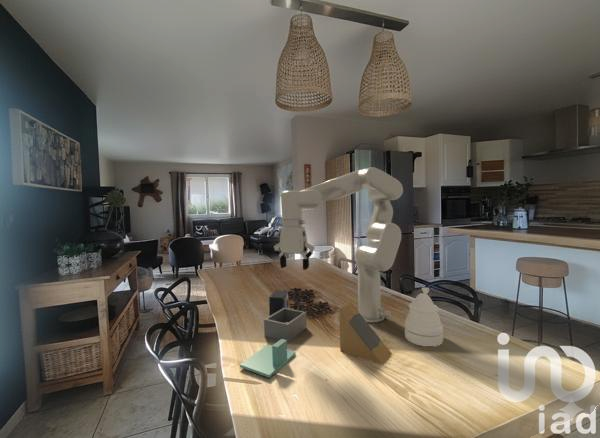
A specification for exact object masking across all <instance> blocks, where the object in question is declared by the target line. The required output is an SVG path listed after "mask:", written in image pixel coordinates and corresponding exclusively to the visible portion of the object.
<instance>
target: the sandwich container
mask: <svg viewBox="0 0 600 438" xmlns="http://www.w3.org/2000/svg"><path fill="white" fill-rule="evenodd" d="M338 313H339V346H340V347H339V349H340V350H339V351H340V352H343V353H345V354H348V355H350V356H351V355H352V356H354V357H357V358H360V359H363V360H366V361H369V362H372V363H376V364H379V365H384V366H385V364H386V362H388V360H389V359H390V358H391V356H392V354H393V353H392V352H391V350H390V349H389V348H388V347H387V345H386V344H385V343H384V342H383V340H382V339H381V338H380V337H379V336H378V334H377V333H376V332H375V331H374V329H373V328H372V327H371V326H370V324H369V322H366V321H365V319H364V318H363V317H362V315H361V314H360V313H359V312H358V308H356V307H355V305H354V304H353V302H352V301H349V302H347V303H346V304H344V305H342V306H341V307H339V312H338Z"/></svg>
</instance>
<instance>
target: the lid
mask: <svg viewBox="0 0 600 438" xmlns="http://www.w3.org/2000/svg"><path fill="white" fill-rule="evenodd" d="M295 356H296V351H293V350H288V342H287V340H284V339H281V340H278V341H277V342H275V343H274V344H272V345H271V344H266V345H265V346H264V347H262V348H260V349H259V350H258V351H256V352H255V353H254V354H252V355H251V356H250V357H249V358H247V359H245V360H244V361H242V363H239V367H240V368H241V369H243V370H244V369H245V370H248V371H250V372H253V373H255V374H258V375H260V376H263V377H266V378H269V379H270V378H271V377H272V376H273V375H275V373H276V372H278V371H279V370H280V369H281V368H282V367H284V366H285V365H286V364H287V363H288V362H289V361H290V360H291V359H293V358H294V357H295Z"/></svg>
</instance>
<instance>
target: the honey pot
mask: <svg viewBox="0 0 600 438" xmlns="http://www.w3.org/2000/svg"><path fill="white" fill-rule="evenodd" d="M421 291H422V292H420V293H419V294H417V295H416V297H415V298H414V299H413V301H412V302H410V303H409V304H408V308H409V311H407V315H406V319H405V320H404V337H405V340H407V341H408V342H410V343H412V344H414V345H417V346H420V345H421V347H426V346H434V347H438V346H437V345H439V346H441V345H442V344H443V343H442V342H444V326H443V324H442V322H441V321H442V320H441V319H440V318H441V317H440V315H439V313H438V311H439V307H438V306H437V305H436V304H434V302H433V300H432V298H431V297H430V296H429V295H428V293H430V288H429V287H421ZM440 344H441V345H440Z"/></svg>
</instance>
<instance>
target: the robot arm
mask: <svg viewBox="0 0 600 438" xmlns="http://www.w3.org/2000/svg"><path fill="white" fill-rule="evenodd" d="M403 187H404V186H403V184H402V183H401V182H400V181H399V180H398V179H397V178H396V177H394V176H392V175H390V174H389V173H387V172H385V171H383V170H382V169H379V168H377V167H373V166H371V167H366V168H361V169H357V170H354V171H351V172H349V173H345V174H344V175H341V176H337V177H335V178H331V179H329V180H327V181H324V182H322V183H319V184H316V185H315V184H314V185H313V186H310V187H307V188H304V189H301V190H300V191H299V190H284V191H282V192H281V194H280V200H281V201H280V203H281V204H280V205H281V206H280V207H281V220H282V221H281V222H282V227H281V228H280V236H279V242H278V243H276V244H275V245H274V246H273V248H274V251H275V254H276V255H277V256H278V258H279V265H280V268H281V269H284V268H286V267H287V257H286V254H290V255H291V254H293V255H301V257H302V270H304V271H305V270H307V269H309V266H310V258H311V257H312V255H313V254H314V251H315V246H314V245H312V244H310V243H308V237H307V230H306V228H305V226H303V225H305V224H306V220H303V214H302V213H303V212H302V211H303V210H315V209H317V208H319V207H321V205H322V204H323V202H327V201H335V200H339V199H342V198H343V199H344V198H346V197H348V196H350V195H353V194H356V193H358V192H360V191H364V190H367V193H368V197H369V199H370V200H371V202H372V205H373V206H372V207H373V210H372V214H371V217H370V221H369V224H368V227H367V228H366V229H367V230H366V231H365V232H366V233H365V237H366V239H367V241H369V242H370V243H373V244H378V245H377V246H376V245H371V244H363V245H360V246H359V247H358V248H357V249H356V251H355V257H354V258H355V263H356V268H357V269H356V271H357V299H358V302H357V304H358V305H357V306H358V307H357V310H358V312H359V313H360V314H361V315H362V317H363V318H364V319H365V321H366V322H367V323H372V324H375V323H379V322H382V321H384V320H385V317H386V318H389V319H390V318H392V314H391V312H390V310H384V309H383V308H384V307H383V306H381V305H382V302H381V294H382V293H381V292H382V291H381V273H380V272H386V271H388V270H390V269H391V268H392V266H393V265H394V262H395V260H396V257H397V253H398V250H399V247H400V244H401V242H402V231H401V228H400V227H399V225H397V224H396V223H393V222H392V221H393V216H394V208H393V205H392V204H391V201H395V200H399V198H401V197H402V195H403V193H404V188H403ZM308 250H309V251H308Z"/></svg>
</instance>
